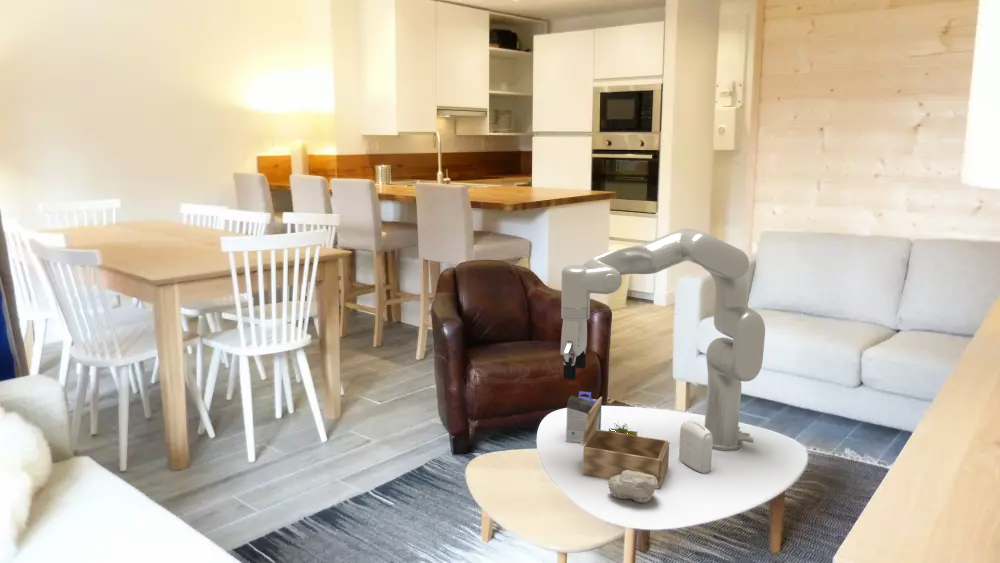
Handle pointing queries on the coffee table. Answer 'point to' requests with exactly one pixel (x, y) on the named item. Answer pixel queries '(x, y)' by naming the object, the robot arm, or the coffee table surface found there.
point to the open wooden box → (624, 455)
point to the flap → (590, 409)
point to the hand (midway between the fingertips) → (574, 373)
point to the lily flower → (623, 430)
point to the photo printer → (696, 446)
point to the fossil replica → (633, 486)
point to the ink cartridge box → (579, 421)
